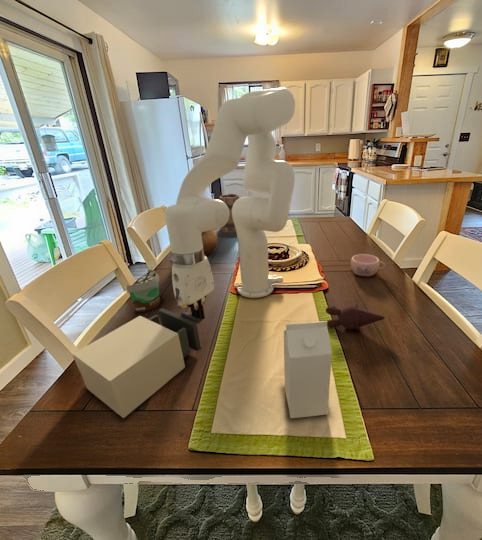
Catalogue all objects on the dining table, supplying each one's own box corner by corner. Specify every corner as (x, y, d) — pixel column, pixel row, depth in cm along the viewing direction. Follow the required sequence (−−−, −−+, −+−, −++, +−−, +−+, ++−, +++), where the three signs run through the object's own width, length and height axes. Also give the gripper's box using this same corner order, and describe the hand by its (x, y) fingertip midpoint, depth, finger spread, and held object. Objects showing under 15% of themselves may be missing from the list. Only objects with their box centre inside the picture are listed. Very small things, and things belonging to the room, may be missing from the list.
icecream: (382, 300, 78) (325, 300, 81) (387, 309, 71) (324, 309, 74) (382, 325, 79) (326, 324, 83) (387, 335, 72) (325, 334, 75)
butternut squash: (224, 251, 134) (219, 197, 123) (205, 261, 123) (196, 203, 113) (202, 246, 140) (195, 194, 130) (182, 256, 130) (172, 200, 120)
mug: (350, 278, 104) (351, 263, 101) (349, 266, 112) (350, 252, 110) (385, 280, 101) (388, 265, 99) (381, 268, 110) (384, 254, 107)
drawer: (179, 324, 81) (174, 300, 78) (212, 339, 75) (208, 313, 71) (117, 366, 67) (108, 339, 64) (151, 388, 61) (143, 360, 57)
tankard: (213, 236, 154) (208, 199, 145) (222, 227, 168) (219, 192, 160) (255, 237, 149) (253, 198, 140) (262, 228, 164) (260, 192, 155)
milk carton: (284, 388, 60) (283, 313, 52) (318, 385, 61) (321, 309, 53) (290, 419, 54) (289, 338, 46) (327, 415, 54) (333, 334, 46)
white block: (148, 347, 74) (139, 315, 70) (185, 367, 67) (178, 333, 63) (87, 388, 63) (72, 353, 58) (123, 418, 56) (109, 381, 51)
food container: (151, 316, 87) (144, 287, 83) (133, 314, 88) (125, 286, 84) (171, 295, 98) (165, 269, 94) (155, 294, 99) (148, 268, 95)
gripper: (174, 270, 63) (187, 338, 70) (220, 248, 74) (227, 309, 82) (153, 263, 67) (167, 328, 74) (199, 244, 78) (207, 302, 85)
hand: (198, 318), depth 78 cm, fingers closed
